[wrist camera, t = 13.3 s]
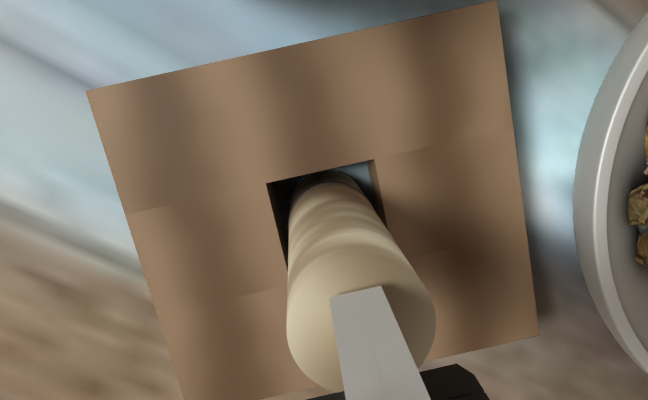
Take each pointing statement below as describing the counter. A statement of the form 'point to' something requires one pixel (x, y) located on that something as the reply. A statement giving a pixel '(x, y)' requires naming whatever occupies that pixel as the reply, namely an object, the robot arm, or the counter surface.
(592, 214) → the bowl
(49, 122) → the counter surface
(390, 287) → the peg
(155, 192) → the board
